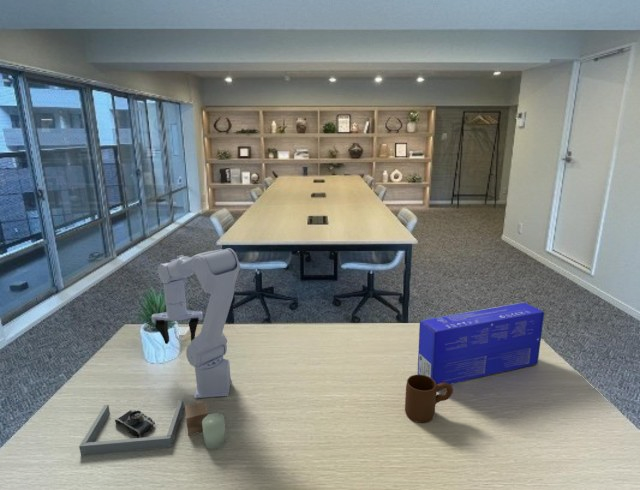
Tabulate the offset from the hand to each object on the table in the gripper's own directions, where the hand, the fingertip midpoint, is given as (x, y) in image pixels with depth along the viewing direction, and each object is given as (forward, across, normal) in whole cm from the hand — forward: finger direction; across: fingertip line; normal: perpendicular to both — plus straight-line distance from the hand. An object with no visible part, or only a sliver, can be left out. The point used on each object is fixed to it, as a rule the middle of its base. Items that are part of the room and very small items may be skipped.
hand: (180, 341), depth 123 cm
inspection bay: (+9, +6, +26) cm, 28 cm away
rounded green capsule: (+10, -14, +33) cm, 37 cm away
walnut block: (+10, -9, +27) cm, 30 cm away
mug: (+10, -68, +30) cm, 75 cm away
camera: (+10, +7, +25) cm, 28 cm away
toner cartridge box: (+10, -91, +12) cm, 92 cm away
